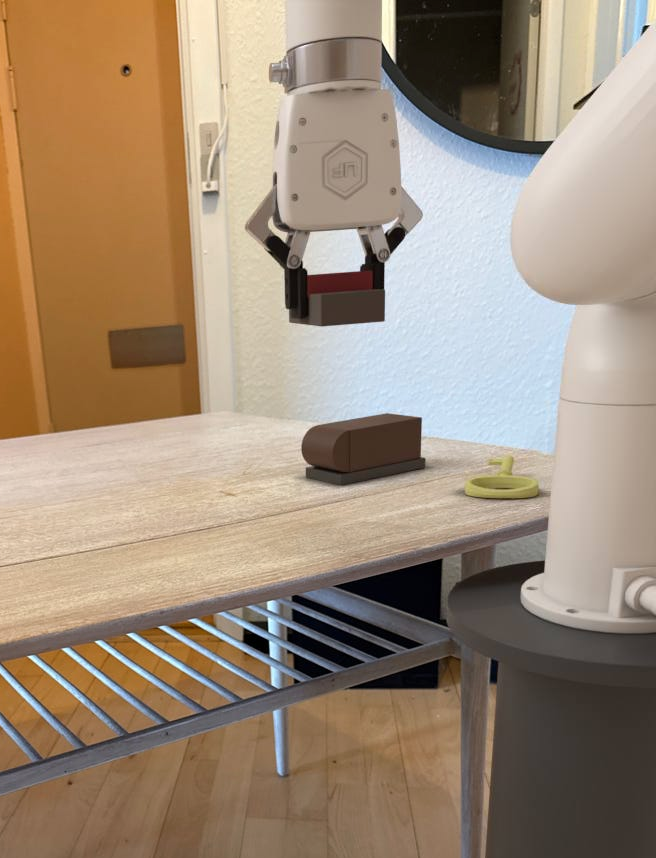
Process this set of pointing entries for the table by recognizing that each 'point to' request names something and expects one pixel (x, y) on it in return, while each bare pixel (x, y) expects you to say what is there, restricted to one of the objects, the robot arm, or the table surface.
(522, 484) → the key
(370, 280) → the two-tier step block
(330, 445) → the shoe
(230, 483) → the table surface
